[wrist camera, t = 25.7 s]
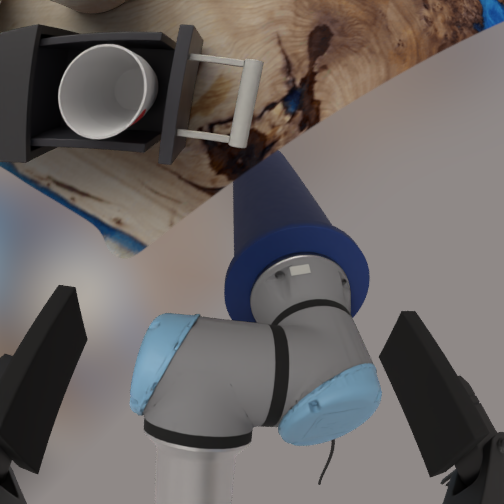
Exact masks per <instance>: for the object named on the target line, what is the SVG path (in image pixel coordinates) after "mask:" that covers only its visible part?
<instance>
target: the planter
mask: <svg viewBox="0 0 504 504" xmlns="http://www.w3.org/2000/svg"><path fill="white" fill-rule="evenodd" d="M51 1H53V2H56V3H59V4H61V5H64V6H66V7H69V8H71V9H74V10H76V11H79V12H82V13H89V14H95V13H102V12H105V11H108V10H111V9H113V8H115V7H117V6H119V5H121V4H122V3H124V2H125V1H127V0H51Z"/></svg>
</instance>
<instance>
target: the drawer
mask: <svg viewBox="0 0 504 504" xmlns="http://www.w3.org/2000/svg"><path fill="white" fill-rule="evenodd" d="M102 44H114V45H119V46H122V47H124V48H126V49H128V50H130V51H132V52H134V53H135V54H137V55H139V56H141V57H142V58H144V59H145V60H146V61H147V62H148V64H149V65H150V66H151V68H152V69H153V70H154V72H155V74H156V76H157V79H158V94H157V97H156V100H155V102H154V104H153V105H152V106H151V108H150V109H149V110H148V111H147V113H146V114H145V115H144V116H143V117H142V118H141V119H140V120H139V121H137V122H136V123H135V124H133V125H131V126H130V127H128V128H127V129H125V130H124V131H122V132H120V133H119V134H117V135H115V136H112V137H109V138H105V139H90V138H86V137H83V136H81V135H79V134H77V133H76V132H74V131H73V130H72V129H71V128H70V127H69V126H68V125H67V124H66V122H65V120H64V119H63V117H62V114H61V111H60V108H59V101H58V93H59V86H60V82H61V79H62V77H63V75H64V73H65V71H66V69H67V67H68V66H69V65H70V63H71V62H72V61H73V60H74V59H75V58H76V57H77V56H78V55H79V54H81V53H82V52H84V51H85V50H87V49H89V48H91V47H94V46H97V45H102ZM202 46H203V39H202V38H201V36H200V34H199V33H198V31H197V30H196V28H195V26H194V25H180V28H179V33H178V37H177V42H176V43H175V42H174V41H173V40H172V39H170V38H169V37H168V36H166V35H165V34H164V33H162V32H104V33H88V34H76V35H66V36H58V37H51V38H44V39H40V42H39V48H38V54H37V61H36V68H35V77H34V86H33V97H32V112H31V146H51V147H76V148H94V149H108V150H121V151H132V152H143V153H144V152H145V151H147V150H148V149H149V148H151V147H152V146H153V145H154V144H156V143H157V142H158V141H160V140H161V142H160V150H159V159H158V163H159V164H167V165H171V164H172V163H173V161H174V160H175V159H176V157H177V156H178V155H179V153H180V152H181V151H182V150H183V148H184V147H185V144H186V137H190V138H197V139H205V140H212V141H219V142H226V143H229V145H230V146H233V147H237V148H246V146H247V141H248V136H249V131H250V126H251V121H252V116H253V111H254V106H255V101H256V97H257V92H258V87H259V82H260V77H261V73H262V68H263V63H264V62H262V61H259V60H254V59H245V61H244V60H238V59H231V58H225V57H217V56H209V55H201V51H202ZM199 61H201V62H210V63H218V64H225V65H232V66H238V67H243V72H242V77H241V82H240V87H239V92H238V97H237V102H236V107H235V112H234V117H233V123H232V128H231V134H230V136H228V135H222V134H215V133H208V132H200V131H193V130H188V123H189V117H190V111H191V105H192V99H193V93H194V87H195V82H196V76H197V71H198V66H199Z"/></svg>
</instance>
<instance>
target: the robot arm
mask: <svg viewBox="0 0 504 504" xmlns="http://www.w3.org/2000/svg"><path fill="white" fill-rule="evenodd" d="M250 303H251V310H252V313H253V316H254V318H255V320H256V322H257V323H251V322H242V321H233V320H224V319H216V318H208V317H200V314H195V315H183V314H172V313H165V314H162V315H159V316H158V317H156V319H154V320H153V322H152V323H151V325H150V326H149V328H148V330H147V332H146V334H145V336H144V339H143V341H142V344H141V347H140V350H139V353H138V357H137V360H136V364H135V368H134V372H133V377H132V382H131V389H130V395H131V397H130V408H131V409H132V411H133V412H135V413H137V414H138V415H144V417H145V419H144V433H145V434H146V436H147V437H148V438H149V439H150V440H151V441H152V442H153V443H154V444H155V445H156V447H157V454H156V479H155V481H156V482H155V504H231V501H232V490H233V479H234V468H235V457H236V455H237V454H239V453H240V452H241V451H243V450H244V449H245V448H247V447H248V446H249V445H250V444H251V438H252V429H253V427H256V426H266V427H269V426H270V427H278V432H279V434H280V435H281V437H282V439H283V440H284V441H285V442H287V443H291V444H294V445H297V446H305V445H306V446H307V445H314V444H320V443H324V442H327V441H330V440H332V446H331V452H330V455H329V458H328V461H327V463H326V465H325V468H324V470H323V472H322V474H321V476H320V479H319V483H318V484H319V485H320V484H321V480H322V477H323V475H324V473H325V471H326V469H327V467H328V465H329V462H330V460H331V458H332V454H333V451H334V445H335V439H336V438H338V437H341V436H343V435H345V434H347V433H349V432H351V431H352V430H354V429H356V428H357V427H359V426H360V425H362V424H363V423H364V422H365V421H366V420H368V419H369V418H370V416H371V415H372V414H373V413H374V412H375V411H376V409H377V408H378V406H379V404H380V401H381V396H382V391H381V387H380V384H379V381H378V378H377V375H376V368H375V366H374V364H373V362H372V360H371V358H370V355H369V353H368V351H367V349H366V347H365V344H364V342H363V340H362V338H361V336H360V334H359V331H358V329H357V327H356V325H355V323H354V321H353V319H352V317H351V314H350V313H351V292H350V285H349V281H348V279H347V276H346V274H345V273H344V271H343V269H342V268H341V266H340V265H339V264H338V263H337V262H336V261H335V260H333V259H332V258H330V257H328V256H326V255H324V254H320V253H316V252H296V253H291V254H288V255H285V256H282V257H280V258H278V259H276V260H274V261H272V262H271V263H269V264H268V265H267V266H266V267H265V268H264V269H263V270H262V271H261V272H260V273H259V274H258V276H257V277H256V279H255V280H254V282H253V285H252V288H251V292H250ZM86 342H87V336H86V332H85V328H84V324H83V320H82V316H81V311H80V307H79V303H78V298H77V293H76V288H75V287H70V286H63V285H59V286H58V287H57V288H56V290H55V291H54V293H53V294H52V296H51V297H50V298H49V300H48V302H47V303H46V304H45V306H44V307H43V309H42V311H41V312H40V313H39V315H38V316H37V318H36V320H35V321H34V323H33V324H32V326H31V328H30V329H29V331H28V332H27V334H26V335H25V337H24V339H23V340H22V342H21V344H20V345H19V347H18V349H17V350H16V352H15V354H14V355H13V356H11V355H7V354H4V355H3V356H2V357H1V358H0V504H27V503H26V501H25V499H24V496H23V494H22V492H21V489H20V487H19V485H18V482H17V480H16V477H15V475H14V473H13V470H12V468H11V467H10V464H11V461H12V460H13V461H14V462H15V463H16V464H17V465H18V466H19V467H21V468H23V469H26V470H28V471H31V472H33V473H36V474H38V473H39V470H40V466H41V463H42V459H43V456H44V453H45V450H46V446H47V443H48V440H49V437H50V434H51V431H52V428H53V425H54V422H55V419H56V416H57V414H58V411H59V408H60V405H61V403H62V400H63V398H64V394H65V392H66V389H67V387H68V384H69V382H70V379H71V377H72V375H73V372H74V370H75V367H76V365H77V362H78V360H79V358H80V356H81V353H82V351H83V349H84V346H85V344H86ZM379 358H380V360H381V363H382V365H383V367H384V369H385V371H386V373H387V376H388V378H389V380H390V382H391V384H392V387H393V389H394V391H395V393H396V395H397V398H398V400H399V402H400V404H401V407H402V409H403V411H404V414H405V416H406V418H407V421H408V423H409V426H410V428H411V430H412V433H413V435H414V438H415V440H416V442H417V445H418V447H419V450H420V452H421V455H422V457H423V460H424V462H425V465H426V468H427V470H428V473H429V475H430V477H433V476H436V475H438V474H441V473H444V472H446V471H447V470H448V469H449V468H451V467H452V466H453V465H454V464H455V467H456V469H455V470H454V471H453V472H452V473H450V474H449V475H448V476H446V477H445V478H444V479H443V480H442V482H441V484H444V483H445V482H446V481H448V480H449V479H450V481H449V482H448V483H447V484H446V486H448V489H447V492H446V496H445V498H444V502H443V504H504V432H499V433H497V431H496V430H495V428H494V426H493V425H492V423H491V421H490V419H489V417H488V416H487V414H486V412H485V410H484V408H483V407H482V405H481V403H479V400H478V398H477V396H475V393H474V392H473V390H472V388H471V386H470V385H469V383H468V382H467V381H466V380H464V379H463V378H462V377H461V376H457V374H456V373H455V371H454V369H453V368H452V366H451V365H450V363H449V361H448V360H447V358H446V357H445V355H444V353H443V352H442V351H441V349H440V347H439V346H438V344H437V343H436V341H435V340H434V338H433V337H432V335H431V334H430V332H429V331H428V329H427V328H426V326H425V325H424V323H423V322H422V320H421V319H420V317H419V316H418V315H417V313H416V312H415V311H401V314H400V316H399V318H398V320H397V322H396V324H395V326H394V328H393V330H392V332H391V334H390V336H389V338H388V340H387V342H386V344H385V346H384V348H383V350H382V352H381V354H380V355H379Z"/></svg>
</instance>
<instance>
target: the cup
mask: <svg viewBox="0 0 504 504" xmlns="http://www.w3.org/2000/svg"><path fill="white" fill-rule="evenodd" d="M157 94H158V79H157V76H156V74H155V72H154V70H153V69H152V68H151V66H150V65H149V64H148V62H147V61H146V60H145V59H144V58H142V57H141V56H139V55H137V54H135V53H134V52H132V51H130V50H128V49H126V48H124V47H122V46H119V45H114V44H102V45H97V46H94V47H91V48H89V49H87V50H85V51H84V52H82V53H81V54H79V55H78V56H77V57H76V58H75V59H74V60H73V61H72V62H71V63H70V65H69V66H68V67H67V69H66V71H65V73H64V75H63V77H62V79H61V82H60V86H59V93H58V101H59V108H60V111H61V114H62V117H63V119H64V120H65V122H66V124H67V125H68V126H69V127H70V128H71V129H72V130H73V131H74V132H76V133H77V134H79V135H81V136H83V137H86V138H90V139H105V138H109V137H112V136H115V135H117V134H119V133H120V132H122V131H124V130H125V129H127V128H128V127H130V126H131V125H133V124H135V123H136V122H137V121H139V120H140V119H141V118H142V117H143V116H144V115H145V114H146V113H147V111H148V110H149V109H150V108H151V106H152V105H153V104H154V102H155V100H156V97H157Z"/></svg>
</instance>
